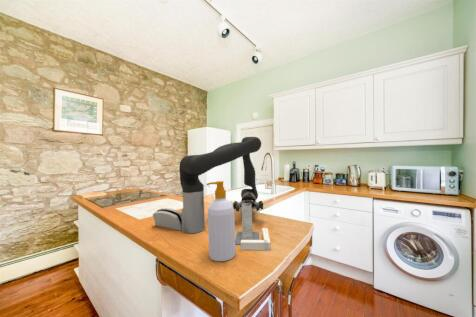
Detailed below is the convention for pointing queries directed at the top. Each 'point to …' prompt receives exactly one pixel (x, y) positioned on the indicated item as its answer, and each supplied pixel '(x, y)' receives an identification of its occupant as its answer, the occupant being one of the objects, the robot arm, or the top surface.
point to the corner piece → (257, 242)
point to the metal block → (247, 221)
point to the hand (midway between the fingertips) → (247, 209)
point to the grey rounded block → (168, 218)
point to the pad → (239, 237)
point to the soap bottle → (221, 226)
